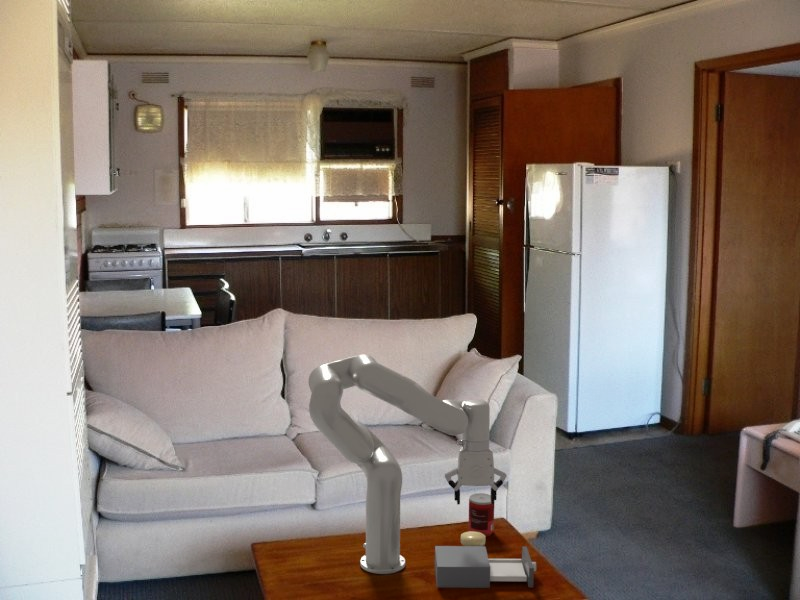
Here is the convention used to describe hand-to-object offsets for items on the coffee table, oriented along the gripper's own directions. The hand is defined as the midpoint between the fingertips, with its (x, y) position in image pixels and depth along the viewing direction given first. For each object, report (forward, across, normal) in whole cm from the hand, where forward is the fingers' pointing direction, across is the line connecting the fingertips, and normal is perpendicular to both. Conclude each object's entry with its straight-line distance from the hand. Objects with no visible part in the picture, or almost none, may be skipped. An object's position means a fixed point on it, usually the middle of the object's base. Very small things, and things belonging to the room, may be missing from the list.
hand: (475, 502), depth 263 cm
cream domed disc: (+12, -1, 0) cm, 12 cm away
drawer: (+16, +7, -12) cm, 22 cm away
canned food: (+17, +3, +18) cm, 24 cm away
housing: (+16, -5, -12) cm, 21 cm away
